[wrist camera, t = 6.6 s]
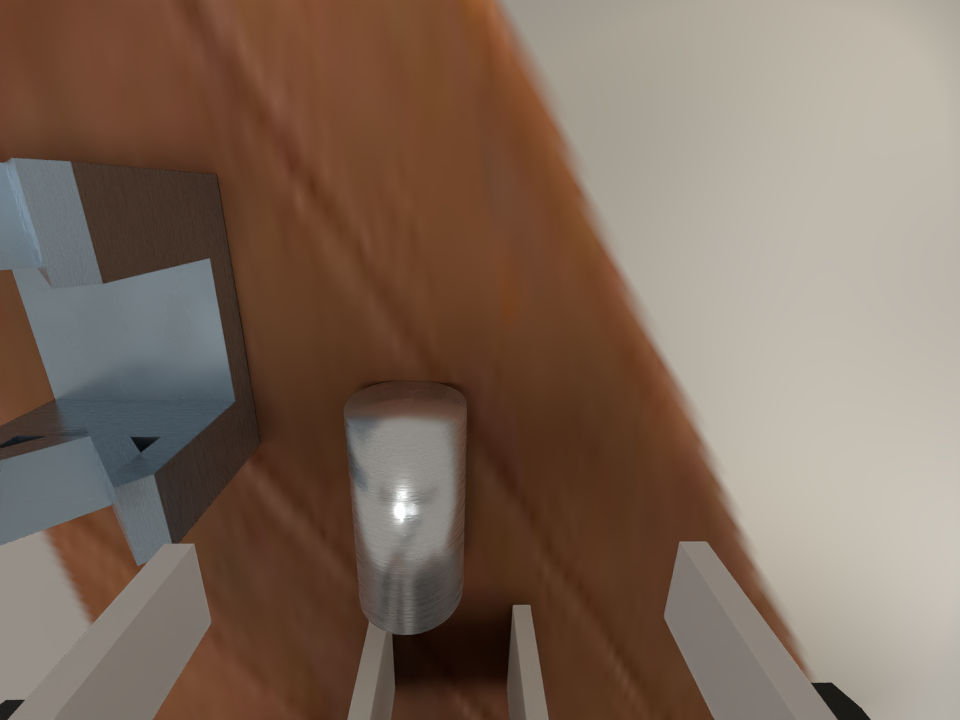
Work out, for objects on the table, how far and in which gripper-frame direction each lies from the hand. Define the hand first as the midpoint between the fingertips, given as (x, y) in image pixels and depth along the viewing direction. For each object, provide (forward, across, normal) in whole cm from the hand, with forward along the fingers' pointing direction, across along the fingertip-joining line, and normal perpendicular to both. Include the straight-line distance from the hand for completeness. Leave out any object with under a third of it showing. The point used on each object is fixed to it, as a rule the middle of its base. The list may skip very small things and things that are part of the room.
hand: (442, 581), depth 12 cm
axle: (+9, 0, +3) cm, 9 cm away
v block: (+10, +13, -5) cm, 17 cm away
